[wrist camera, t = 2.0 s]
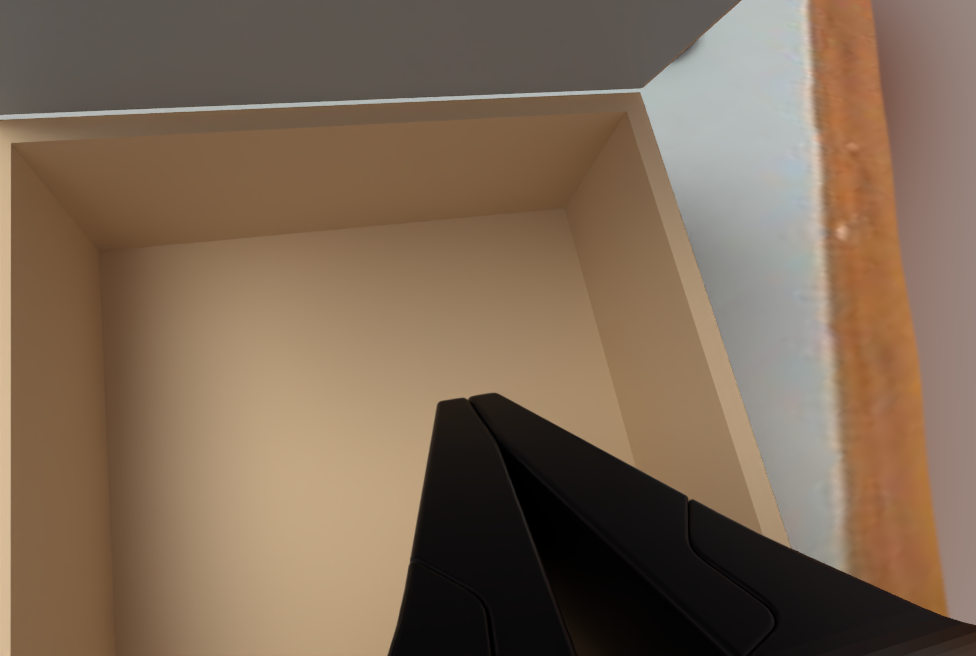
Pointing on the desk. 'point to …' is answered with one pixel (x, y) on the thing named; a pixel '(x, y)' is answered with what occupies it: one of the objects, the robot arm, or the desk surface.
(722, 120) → the desk surface
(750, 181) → the desk surface
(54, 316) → the mailer box
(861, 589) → the robot arm
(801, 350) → the desk surface
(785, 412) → the desk surface
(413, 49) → the mailer lid
